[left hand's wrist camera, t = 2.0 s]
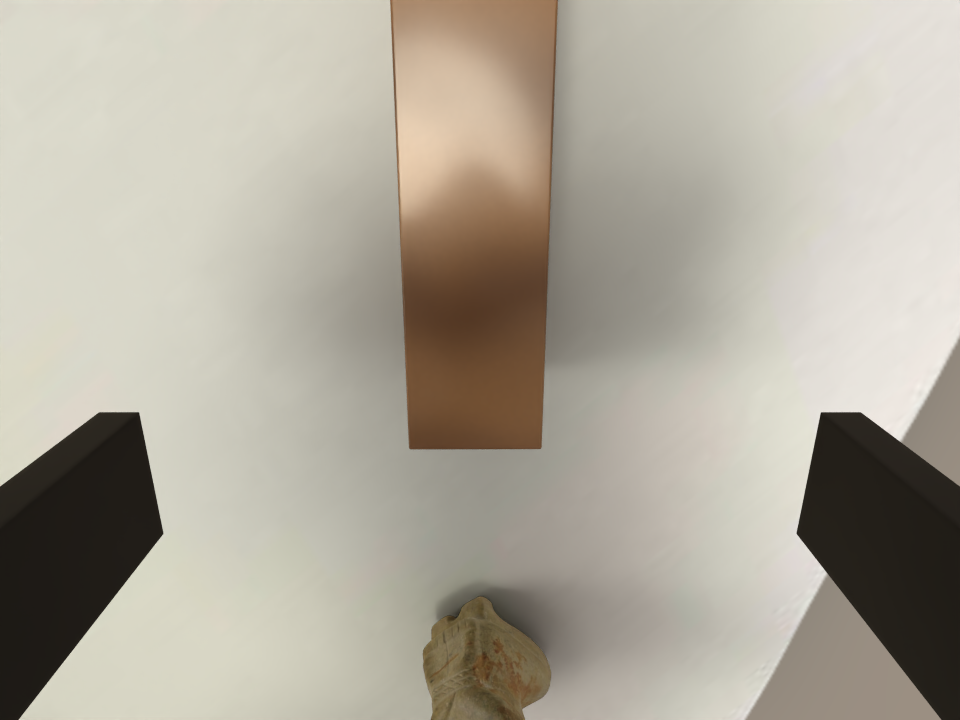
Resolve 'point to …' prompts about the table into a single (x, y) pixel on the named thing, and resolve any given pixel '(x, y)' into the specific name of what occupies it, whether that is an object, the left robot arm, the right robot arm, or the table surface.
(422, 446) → the bar
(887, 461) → the left robot arm
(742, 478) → the table surface
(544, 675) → the sculpture
